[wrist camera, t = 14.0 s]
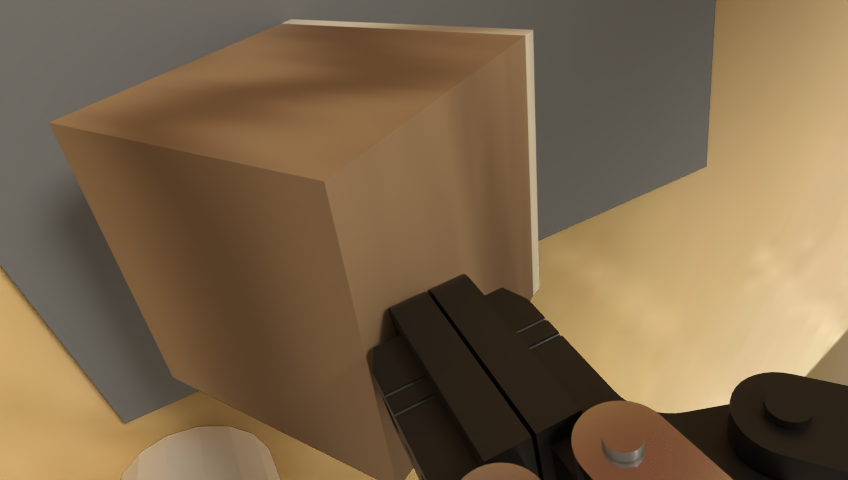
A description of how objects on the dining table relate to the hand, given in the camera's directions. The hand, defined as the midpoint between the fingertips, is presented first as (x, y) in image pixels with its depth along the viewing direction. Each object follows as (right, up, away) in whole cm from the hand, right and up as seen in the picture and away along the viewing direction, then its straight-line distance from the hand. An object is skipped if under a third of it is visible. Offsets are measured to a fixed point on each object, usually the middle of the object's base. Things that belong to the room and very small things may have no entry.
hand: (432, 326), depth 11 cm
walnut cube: (0, +4, +6) cm, 7 cm away
